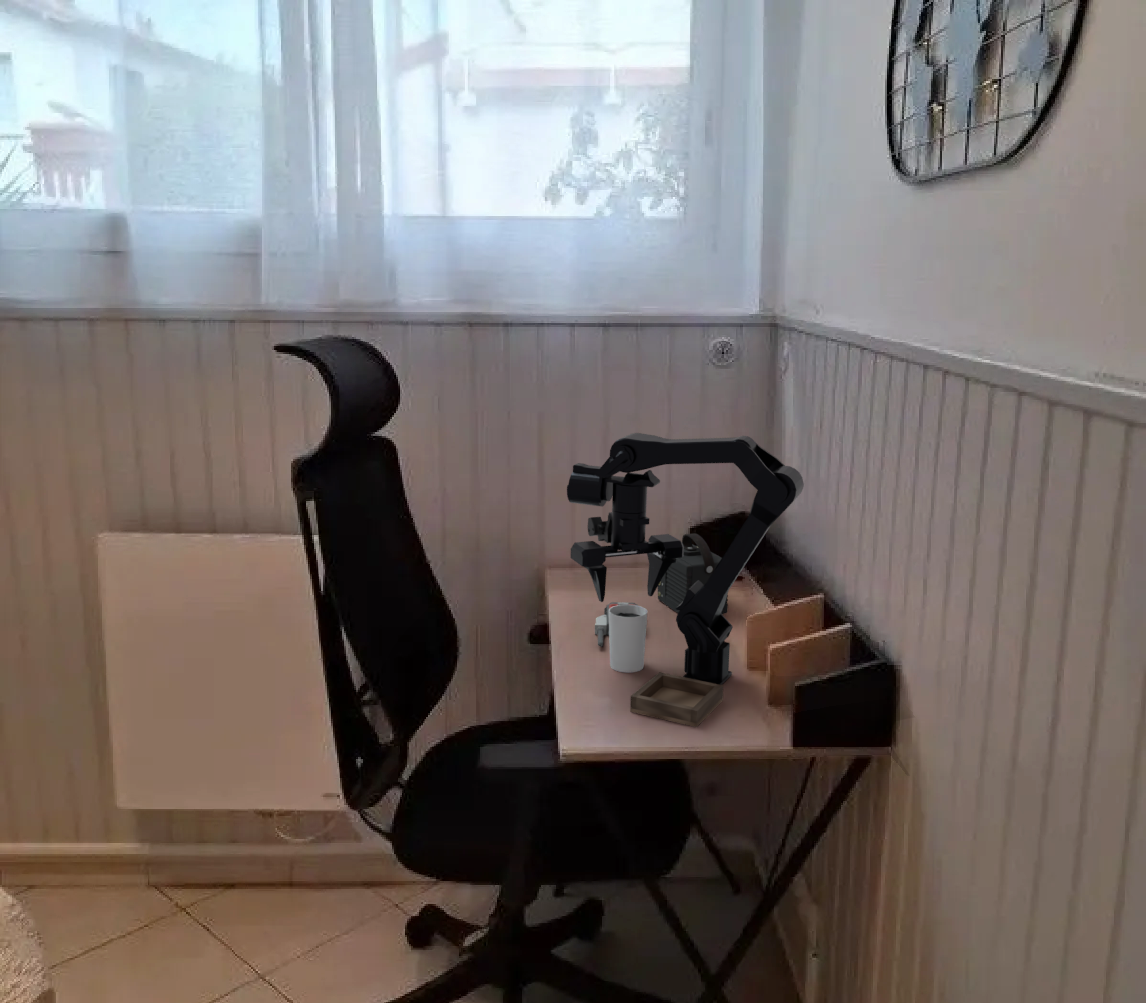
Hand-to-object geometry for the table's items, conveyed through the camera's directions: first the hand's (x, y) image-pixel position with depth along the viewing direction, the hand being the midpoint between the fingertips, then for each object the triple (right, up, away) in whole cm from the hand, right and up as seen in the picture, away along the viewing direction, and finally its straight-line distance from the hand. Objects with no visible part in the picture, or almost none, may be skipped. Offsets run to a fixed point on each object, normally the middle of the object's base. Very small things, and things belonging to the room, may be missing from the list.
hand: (625, 598), depth 178 cm
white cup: (0, -12, +2) cm, 12 cm away
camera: (+15, -5, +33) cm, 37 cm away
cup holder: (+7, -16, -14) cm, 22 cm away
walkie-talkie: (-1, -8, +19) cm, 21 cm away
